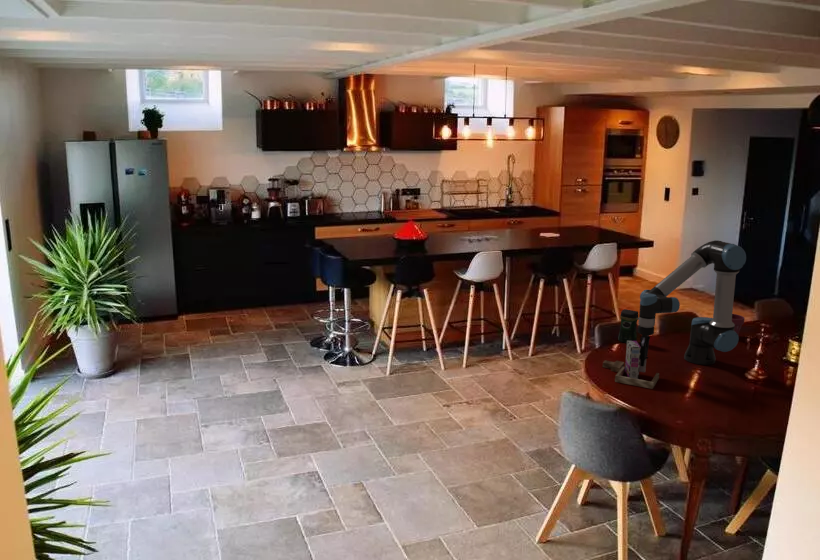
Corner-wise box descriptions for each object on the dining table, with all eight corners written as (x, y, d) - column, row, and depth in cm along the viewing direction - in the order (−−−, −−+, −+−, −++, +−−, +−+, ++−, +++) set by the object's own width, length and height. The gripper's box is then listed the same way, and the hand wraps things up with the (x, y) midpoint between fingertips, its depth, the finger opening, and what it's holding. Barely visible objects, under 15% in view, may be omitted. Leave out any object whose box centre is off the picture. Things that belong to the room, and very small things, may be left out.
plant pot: (738, 334, 409) (741, 313, 406) (744, 341, 396) (747, 320, 393) (713, 332, 412) (715, 311, 409) (717, 339, 399) (720, 318, 396)
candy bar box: (639, 379, 331) (641, 347, 328) (628, 379, 332) (630, 347, 328) (635, 371, 342) (636, 340, 338) (624, 371, 343) (626, 340, 339)
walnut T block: (623, 366, 350) (624, 362, 349) (619, 372, 341) (619, 367, 341) (605, 363, 354) (606, 358, 353) (600, 368, 345) (601, 364, 345)
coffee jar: (638, 341, 391) (641, 310, 387) (633, 345, 385) (636, 313, 381) (621, 338, 397) (624, 307, 393) (616, 341, 391) (619, 310, 387)
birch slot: (658, 379, 333) (659, 373, 332) (652, 388, 320) (653, 382, 319) (622, 372, 341) (622, 366, 341) (614, 381, 328) (615, 375, 328)
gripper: (640, 321, 341) (636, 366, 346) (635, 327, 329) (631, 374, 335) (656, 323, 337) (652, 368, 342) (651, 330, 326) (647, 377, 331)
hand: (642, 371), depth 338 cm, fingers closed
